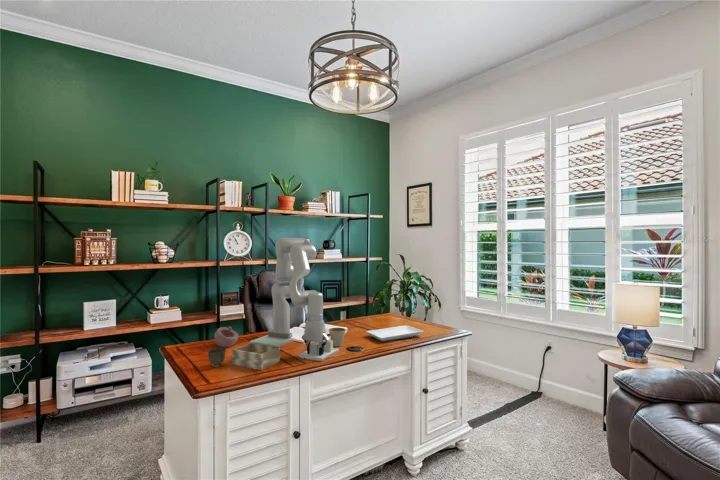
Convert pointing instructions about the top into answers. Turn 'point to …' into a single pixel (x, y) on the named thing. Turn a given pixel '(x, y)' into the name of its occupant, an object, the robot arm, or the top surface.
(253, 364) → the birch box
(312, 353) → the grey block
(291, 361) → the top surface
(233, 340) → the mortar and pestle
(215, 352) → the cup
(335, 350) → the white dish
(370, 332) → the tray
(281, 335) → the lid
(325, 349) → the beige block
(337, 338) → the flower pot
